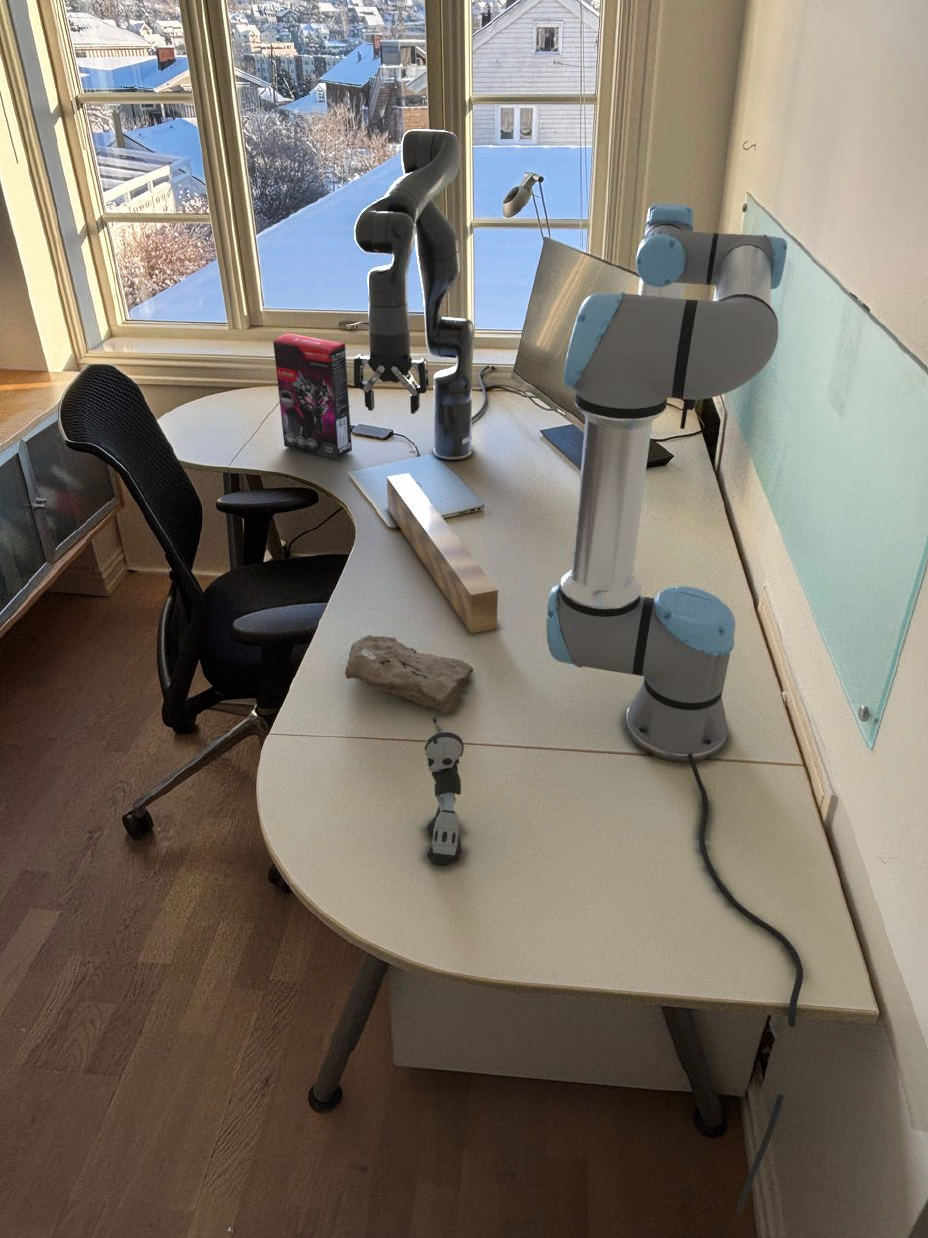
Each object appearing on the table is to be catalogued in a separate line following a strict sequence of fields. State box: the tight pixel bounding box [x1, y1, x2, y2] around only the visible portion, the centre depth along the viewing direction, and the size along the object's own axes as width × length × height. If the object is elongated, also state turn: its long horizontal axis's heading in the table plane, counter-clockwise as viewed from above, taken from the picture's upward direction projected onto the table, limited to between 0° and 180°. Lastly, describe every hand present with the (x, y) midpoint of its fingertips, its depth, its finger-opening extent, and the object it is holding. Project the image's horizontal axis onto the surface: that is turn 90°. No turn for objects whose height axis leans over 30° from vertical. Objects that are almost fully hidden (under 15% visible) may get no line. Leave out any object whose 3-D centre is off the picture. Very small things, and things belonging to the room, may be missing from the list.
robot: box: [423, 717, 465, 867], centre depth 118 cm, size 20×5×20 cm, turn 3°
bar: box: [386, 473, 499, 634], centre depth 183 cm, size 51×5×8 cm, turn 21°
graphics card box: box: [272, 332, 353, 460], centre depth 223 cm, size 17×7×27 cm, turn 62°
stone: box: [344, 634, 474, 714], centre depth 150 cm, size 21×15×6 cm
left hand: (392, 410), depth 180 cm, fingers open, 8 cm apart
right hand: (645, 422), depth 169 cm, fingers open, 13 cm apart
